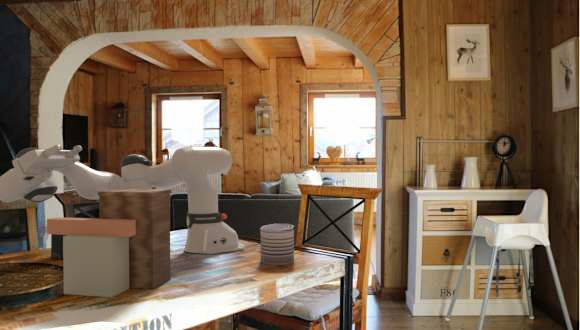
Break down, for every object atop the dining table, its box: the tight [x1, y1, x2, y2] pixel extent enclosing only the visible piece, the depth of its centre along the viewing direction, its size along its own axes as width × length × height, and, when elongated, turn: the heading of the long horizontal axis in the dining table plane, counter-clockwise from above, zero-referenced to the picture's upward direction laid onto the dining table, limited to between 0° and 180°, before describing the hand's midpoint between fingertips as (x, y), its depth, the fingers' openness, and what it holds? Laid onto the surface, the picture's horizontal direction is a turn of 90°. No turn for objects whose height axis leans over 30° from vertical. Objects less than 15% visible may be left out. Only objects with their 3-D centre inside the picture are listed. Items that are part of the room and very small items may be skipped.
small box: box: [50, 234, 66, 261], centre depth 170 cm, size 11×6×10 cm, turn 148°
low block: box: [62, 235, 130, 298], centre depth 126 cm, size 14×8×15 cm, turn 78°
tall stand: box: [97, 188, 172, 290], centre depth 135 cm, size 17×11×26 cm, turn 78°
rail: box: [46, 216, 136, 237], centre depth 126 cm, size 24×4×4 cm, turn 78°
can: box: [259, 223, 295, 266], centre depth 162 cm, size 11×11×12 cm
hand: (70, 146), depth 148 cm, fingers open, 8 cm apart
